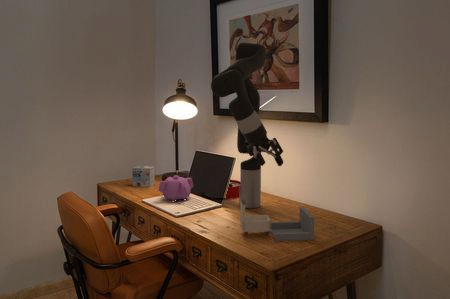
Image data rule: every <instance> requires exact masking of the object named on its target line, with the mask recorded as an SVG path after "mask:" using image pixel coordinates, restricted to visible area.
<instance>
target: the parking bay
mask: <svg viewBox="0 0 450 299" xmlns="http://www.w3.org/2000/svg"><path fill="white" fill-rule="evenodd" d="M269 233H270V234H271V235H272V237H273V239H274V241H275V242H281V241H283V242H284V241H306V240H307V241H309V240H310V241H313V240H314V239H315V217H314V216H313V214H312V213H310V212H309V210H307V208H306V207H304V206H299V220H294V221H293V220H292V221H291V220H290V221H286V220H285V221H271V231H269Z"/></svg>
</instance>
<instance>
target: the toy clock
mask: <svg viewBox="0 0 450 299" xmlns="http://www.w3.org/2000/svg"><path fill="white" fill-rule="evenodd" d="M239 185H240V180H237V179H230V184H229V187H228V191H227V194H226V199H225V200H230V199H229V198H233V199H237V198H236V197H238V198H239Z"/></svg>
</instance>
